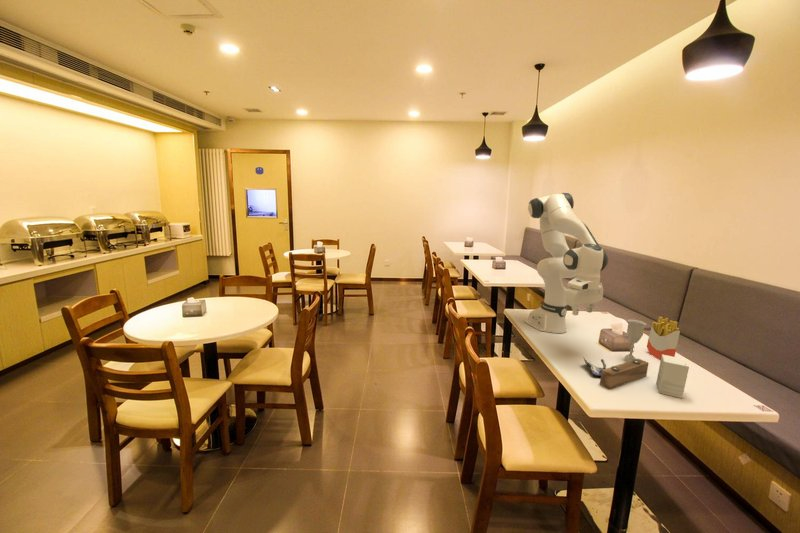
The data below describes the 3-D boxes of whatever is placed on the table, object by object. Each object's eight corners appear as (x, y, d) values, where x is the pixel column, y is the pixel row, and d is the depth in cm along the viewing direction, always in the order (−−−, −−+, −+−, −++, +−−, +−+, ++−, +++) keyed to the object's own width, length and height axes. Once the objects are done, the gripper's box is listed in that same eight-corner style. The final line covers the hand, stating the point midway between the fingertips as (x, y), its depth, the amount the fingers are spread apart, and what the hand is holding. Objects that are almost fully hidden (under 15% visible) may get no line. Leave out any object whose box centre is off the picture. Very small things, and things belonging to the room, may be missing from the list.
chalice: (641, 365, 152) (649, 326, 148) (624, 363, 153) (631, 324, 149) (634, 358, 159) (641, 320, 155) (617, 356, 160) (624, 318, 156)
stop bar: (599, 384, 135) (602, 368, 134) (635, 371, 146) (638, 356, 145) (609, 389, 132) (612, 372, 130) (646, 376, 143) (649, 360, 141)
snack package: (612, 370, 148) (581, 362, 153) (615, 357, 145) (583, 349, 150) (612, 387, 138) (579, 378, 143) (616, 374, 135) (582, 365, 141)
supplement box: (679, 389, 134) (686, 358, 131) (682, 399, 127) (689, 366, 125) (655, 383, 137) (661, 353, 135) (657, 392, 131) (664, 361, 128)
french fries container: (663, 362, 156) (671, 323, 152) (644, 351, 166) (652, 315, 163) (673, 362, 156) (681, 324, 153) (654, 351, 167) (661, 315, 163)
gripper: (595, 278, 157) (590, 308, 160) (564, 282, 148) (560, 314, 151) (609, 282, 152) (604, 312, 155) (578, 286, 143) (573, 319, 145)
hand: (582, 313), depth 153 cm, fingers open, 8 cm apart
